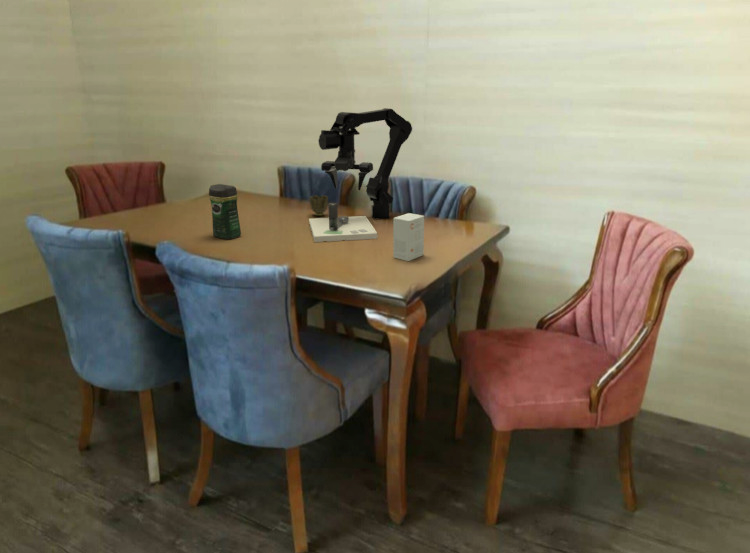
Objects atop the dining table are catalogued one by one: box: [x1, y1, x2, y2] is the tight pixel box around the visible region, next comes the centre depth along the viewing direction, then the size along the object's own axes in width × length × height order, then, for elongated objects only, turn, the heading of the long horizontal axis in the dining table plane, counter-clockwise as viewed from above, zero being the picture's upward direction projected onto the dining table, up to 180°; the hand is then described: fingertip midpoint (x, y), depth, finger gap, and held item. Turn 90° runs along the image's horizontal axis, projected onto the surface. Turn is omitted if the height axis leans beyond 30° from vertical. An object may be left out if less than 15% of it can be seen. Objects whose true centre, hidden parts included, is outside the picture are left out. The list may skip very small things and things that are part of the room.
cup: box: [309, 194, 329, 218], centre depth 230 cm, size 8×7×8 cm
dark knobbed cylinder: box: [327, 202, 350, 230], centre depth 206 cm, size 14×4×9 cm, turn 163°
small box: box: [392, 212, 425, 262], centre depth 179 cm, size 8×6×13 cm
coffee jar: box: [208, 183, 242, 240], centre depth 201 cm, size 10×8×19 cm
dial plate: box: [308, 215, 378, 243], centre depth 210 cm, size 22×25×2 cm
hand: (347, 189), depth 217 cm, fingers open, 9 cm apart
